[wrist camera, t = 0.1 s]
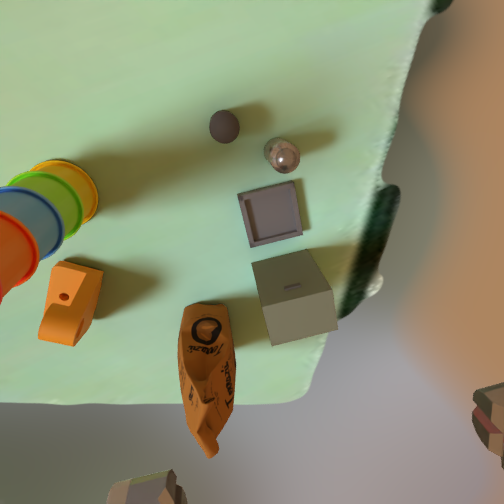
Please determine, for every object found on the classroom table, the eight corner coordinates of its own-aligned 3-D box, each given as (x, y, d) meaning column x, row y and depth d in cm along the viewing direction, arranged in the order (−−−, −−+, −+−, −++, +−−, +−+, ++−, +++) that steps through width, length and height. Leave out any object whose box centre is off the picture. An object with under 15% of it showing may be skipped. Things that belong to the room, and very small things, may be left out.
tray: (237, 194, 55) (237, 196, 54) (291, 180, 55) (293, 182, 54) (249, 244, 59) (250, 247, 57) (300, 231, 59) (303, 234, 57)
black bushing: (206, 114, 50) (205, 115, 45) (233, 107, 50) (235, 108, 45) (213, 142, 51) (213, 146, 47) (239, 135, 51) (242, 139, 47)
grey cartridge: (261, 141, 52) (269, 147, 45) (287, 134, 52) (298, 140, 45) (266, 167, 54) (274, 177, 47) (291, 161, 54) (303, 170, 47)
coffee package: (234, 299, 63) (245, 392, 43) (232, 353, 68) (241, 459, 48) (179, 299, 62) (163, 396, 42) (181, 355, 67) (168, 465, 47)
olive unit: (250, 261, 60) (261, 305, 47) (306, 247, 60) (331, 287, 47) (260, 298, 63) (272, 348, 51) (313, 285, 63) (338, 332, 51)
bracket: (59, 257, 56) (22, 295, 45) (105, 269, 58) (80, 309, 47) (49, 310, 60) (13, 357, 49) (92, 320, 62) (67, 368, 51)
